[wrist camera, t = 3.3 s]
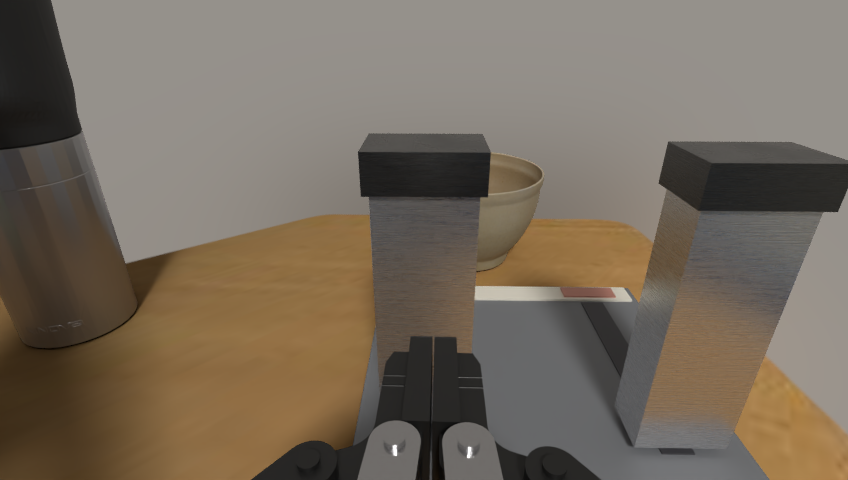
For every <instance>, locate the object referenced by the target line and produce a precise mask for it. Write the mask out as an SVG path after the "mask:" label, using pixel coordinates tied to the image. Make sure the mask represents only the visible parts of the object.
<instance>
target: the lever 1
mask: <svg viewBox="0 0 848 480" xmlns="http://www.w3.org/2000/svg"><path fill="white" fill-rule="evenodd" d="M358 158H359V173H360V188H361V196H362V197H369V209H370V229H371V247H372V265H373V283H374V301H375V319H376V337H377V355H378V373H379V392H381V387H382V381H383V377H384V369H385V363H386V361H387V360H388V359H389V357H390V356H391V355H392V353H393V352H409V346H410V337H411V336H433V373H434V337H456V338H457V353H472V336H473V318H474V301H475V283H476V266H477V248H478V231H479V213H480V197H488V190H489V174H490V159H491V152H490V149H489V147H488V145H487V143H486V141H485V138H484V136H483V134H369V135H368V136H367V138H366V140H365V141H364V143H363V145H362V146H361V148H360V150H359V151H358ZM433 373H432V410H433ZM431 424H432V417H431Z"/></svg>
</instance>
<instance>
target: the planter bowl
mask: <svg viewBox="0 0 848 480" xmlns="http://www.w3.org/2000/svg"><path fill="white" fill-rule="evenodd" d="M543 181H544V171H543V170H542V169H541V168H540V167H539V166H538V165H536V164H535V163H533V162H531V161H528V160H525V159H522V158H519V157H515V156H511V155H505V154H501V153H493V152H491V159H490V174H489V190H488V197H480V213H479V231H478V248H477V266H476V271H483V270H488V269H491V268H494V267H496V266H498V265H500V264H501V263H502V262H503V261H504V260H505V259H506V256H507V253H508V251H509V250H510V249H511V248H512V247H513V246H514V245H515V244H516V243H517V242H518V240H519V239H520V238H521V236H522V235H523V234H524V232H525V231H526V229H527V227H528V225H529V224H530V222H531V220H532V218H533V215H534V213H535V209H536V207H537V203H538V199H539V194H540V188H541V187H542V184H543Z"/></svg>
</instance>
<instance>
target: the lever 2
mask: <svg viewBox="0 0 848 480" xmlns="http://www.w3.org/2000/svg"><path fill="white" fill-rule="evenodd" d="M659 184H660V185H662V186H663V187H665V188H666V189H667V191H666V195H665V199H664V203H663V207H662V212H661V215H660V220H659V224H658V228H657V232H656V236H655V240H654V244H653V248H652V253H651V257H650V261H649V265H648V269H647V273H646V277H645V281H644V286H643V290H642V294H641V298H640V302H639V306H638V310H637V314H636V319H635V323H634V327H633V331H632V335H631V339H630V343H629V347H628V352H627V356H626V360H625V364H624V368H623V372H622V376H621V380H620V385H619V389H618V393H617V397H616V401H615V405H614V406H615V408H616V410H617V412H618V415H619V417H620V419H621V421H622V423H623V425H624V427H625V429H626V431H627V433H628V436H629V438H630V440H631V442H632V444H633V446H634V448H695V449H727V447H728V445H729V442H730V440H731V437H732V435H733V432H734V430H735V428H736V425H737V423H738V420H739V418H740V415H741V413H742V410H743V408H744V405H745V403H746V401H747V398H748V396H749V393H750V391H751V388H752V386H753V383H754V381H755V378H756V376H757V374H758V371H759V369H760V366H761V364H762V361H763V359H764V356H765V354H766V352H767V349H768V347H769V344H770V342H771V339H772V337H773V334H774V332H775V329H776V327H777V324H778V322H779V320H780V317H781V315H782V312H783V310H784V307H785V305H786V302H787V300H788V297H789V295H790V293H791V290H792V288H793V285H794V283H795V280H796V278H797V276H798V273H799V271H800V268H801V265H802V263H803V261H804V258H805V256H806V253H807V251H808V249H809V246H810V244H811V241H812V239H813V236H814V234H815V231H816V229H817V226H818V224H819V222H820V219H821V216H822V214H823V212H838V210H839V208H840V206H841V203H842V201H843V199H844V196H845V194H846V191H847V189H848V160H845V159H842V158H839V157H836V156H833V155H829V154H826V153H823V152H820V151H817V150H814V149H811V148H808V147H805V146H802V145H798V144H795V143H792V142H668V145H667V149H666V154H665V158H664V162H663V166H662V171H661V175H660V180H659Z"/></svg>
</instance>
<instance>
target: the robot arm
mask: <svg viewBox="0 0 848 480" xmlns="http://www.w3.org/2000/svg"><path fill="white" fill-rule="evenodd" d="M0 296H1V298H2V300H3V302H4V305H5V307H6V309H7V311H8V313H9V315H10V317H11V319H12V321H13V324H14V326H15V328H16V330H17V332H18V334H19V336H20V338H21V340H22V342H23V343H25V344H27V345H28V346H32V347H36V348H56V347H63V346H69V345H74V344H77V343H81V342H85V341H88V340H90V339H93V338H96V337H99V336H101V335H103V334H105V333H107V332H109V331H111V330H113V329H115V328H116V327H118V326H120V325H121V324H122V323H124V322H125V321H126V320H128V319H129V318H130V317H131V316H132V315H133V313H134V312H135V310H136V308H137V304H138V302H137V299H136V296H135V293H134V290H133V287H132V284H131V280H130V277H129V274H128V271H127V267H126V264H125V261H124V258H123V255H122V252H121V249H120V245H119V242H118V239H117V236H116V233H115V230H114V227H113V224H112V221H111V217H110V215H109V212H108V208H107V205H106V202H105V199H104V196H103V193H102V190H101V186H100V183H99V180H98V177H97V174H96V171H95V168H94V165H93V162H92V159H91V156H90V153H89V150H88V147H87V144H86V140H85V137H84V134H83V131H82V128H81V125H80V122H79V118H78V115H77V109H76V101H75V93H74V87H73V83H72V79H71V76H70V72H69V68H68V65H67V62H66V58H65V55H64V51H63V47H62V43H61V39H60V35H59V31H58V27H57V23H56V19H55V15H54V11H53V7H52V3H51V0H0ZM432 373H433V336H411V337H410V346H409V352H393V353H392V355H391V356H390V357H389V359H388V360H387V361H386V363H385V369H384V377H383V381H382V387H381V392H380V398H379V404H378V409H377V415H376V421H375V425H374V428H373V430H372V432H371V433H370V434H369V436H368V437H367V438H365V439H364V440H363V441H361V442H360V443H358V444H356V445H354V446H351V447H347V448H343V449H339V450H336V451H335V450H334V449H333V448H332V447H331V446H330V445H329V444H327V443H325V442H322V441H308V442H304V443H301V444H299V445H297V446H295V447H294V448H292V449H291V450H290V451H288V452H287V453H286V454H284V455H283V456H282V457H280V458H279V459H278V460H276V461H275V462H274V463H273V464H271V465H270V466H269V467H267V468H266V469H265V470H263V471H262V472H261V473H259V474H258V475H257V476H255V477H254V478H253V479H251V480H430V451H431V417H432V480H601V479H600V478H599V477H597V476H596V475H595V474H594V473H593V472H591V471H590V470H589V469H588V468H586V467H585V466H584V465H583V464H582V463H580V462H579V461H578V460H577V459H576V458H574V457H573V456H572V455H571V454H569V453H568V452H566V451H564V450H562V449H560V448H556V447H551V446H543V447H539V448H536V449H534V450H532V451H531V452H530V453H529V454H528V456H525V455H521V454H518V453H515V452H512V451H509V450H507V449H505V448H503V447H502V446H500V445H499V444H498V443H497V442H496V441H495V440H494V438H493V436H492V434H491V433H490V432H489V430H488V425H487V416H486V407H485V399H484V390H483V381H482V373H481V364H480V363H479V361H478V360H477V359H476V357H475V356H474V354H473V353H457V338H456V337H434V373H433V410H432Z"/></svg>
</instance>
